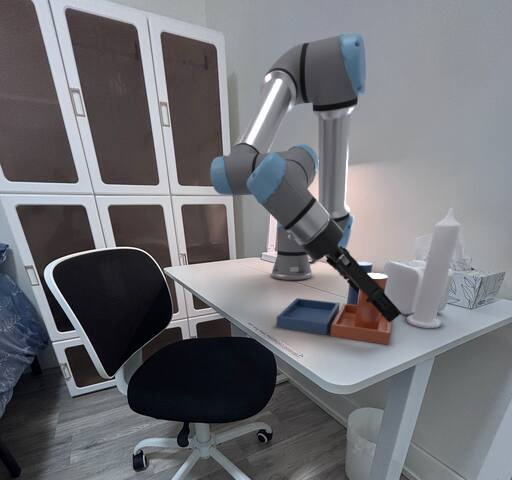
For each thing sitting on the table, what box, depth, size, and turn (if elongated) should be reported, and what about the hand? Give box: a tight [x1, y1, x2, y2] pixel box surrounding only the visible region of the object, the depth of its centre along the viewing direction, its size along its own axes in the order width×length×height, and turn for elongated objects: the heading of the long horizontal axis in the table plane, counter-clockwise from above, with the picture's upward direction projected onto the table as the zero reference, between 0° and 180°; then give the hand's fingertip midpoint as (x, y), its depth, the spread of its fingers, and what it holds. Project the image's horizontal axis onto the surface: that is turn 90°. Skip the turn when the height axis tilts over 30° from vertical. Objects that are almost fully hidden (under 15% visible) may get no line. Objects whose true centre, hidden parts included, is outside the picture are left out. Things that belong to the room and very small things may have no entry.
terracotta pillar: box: [354, 272, 388, 330], centre depth 62 cm, size 5×5×12 cm
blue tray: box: [276, 297, 340, 336], centre depth 71 cm, size 16×12×3 cm
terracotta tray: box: [330, 303, 392, 346], centre depth 67 cm, size 16×12×3 cm
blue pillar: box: [346, 261, 374, 305], centre depth 76 cm, size 5×5×12 cm
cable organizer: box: [382, 259, 455, 316], centre depth 77 cm, size 15×11×12 cm
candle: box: [406, 206, 461, 329], centre depth 64 cm, size 7×7×25 cm
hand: (380, 306), depth 62 cm, fingers open, 13 cm apart
